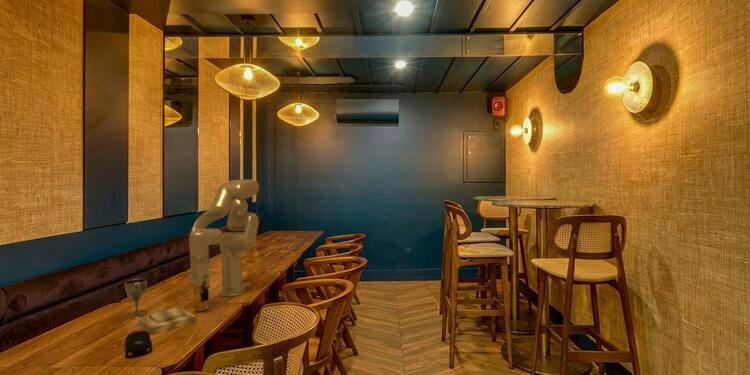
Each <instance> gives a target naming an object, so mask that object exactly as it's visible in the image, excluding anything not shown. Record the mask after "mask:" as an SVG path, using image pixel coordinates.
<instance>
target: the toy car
mask: <svg viewBox="0 0 750 375" xmlns="http://www.w3.org/2000/svg"><path fill="white" fill-rule="evenodd" d="M124 341H125V342H124V343H125V348H124V350H125V358H134V357H140V356H143V355H146V354H149V353H150V352H152V351H153V342H152V340H151V334H150V333H149V332H147V331H146V330H145V329H143V328H140V330H139V328H136V329H135V331H132V332H130V333H128V335H127V336H125V339H124Z"/></svg>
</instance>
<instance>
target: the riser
mask: <svg viewBox="0 0 750 375" xmlns="http://www.w3.org/2000/svg"><path fill="white" fill-rule="evenodd" d="M196 317H197V316H196V315H194V314H193V313H191V312H189V311H187V310H185V309H183V308H182V307H179V308H177V307H173V308H169V309H166V310H161V311H157V312H154V313H149V314H148V315H147V316H146V315H145V316H142V317H138V320H137V321H138V326H139V327H141V329H142V330H145V331H147V332H149V333H150V336H154V335H156V334H160V333H163V332H168V331H171V330H174V329H177V328H181V327H185V326H187V325H188V326H189V325H191V324H195V323H196V322H197V319H196Z"/></svg>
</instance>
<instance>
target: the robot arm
mask: <svg viewBox="0 0 750 375" xmlns="http://www.w3.org/2000/svg"><path fill="white" fill-rule="evenodd" d="M259 189H260V185H259V182H258V181H257V180H256V179H251V178H250V179H248V178H247V179H231V180H229V181H227V182H226V183H222V184H221V185H220V186H218V189H217V191H216V194H215V196H214V198H213V201H212V202H211V203H212V204H211V205H210V208H208V209H207V210H206V211H204V212H203V213H202V214H201V215H199V217H198V218H197V219H196V220H195V222H194V224H193V226H192V227H191V228H192V229H191V231H190V233H189V236H188V238H189V239H188V240H189V258H190V259H189V262H190V263H189V264H190V268H189V269H190V270H189V282H190V284H191V285H193V279H195V286H197V287H200V288H201V293H200V295H201V302H203V301H207V300H209V301H210V298H209V297H210V295H209V296H208V291H209V288H210V287H211V284H210V281H211V280H210V279H211V278H210V276H211V274H210V267H209V262H210V254H209V253H210V252H209V247H210V246H216V245H219V250H220V255H221V281H222V282H221V283H222V285H221V286H222V287H221V289H222V290H220V291H219V292H218V294H219V296H220V297H226V298H229V297H236V296H240V295H243V294H244V293H246V287H251V286H252V283H251V282H243V270H242V269H243V267H242V264H243V263H242V261H243V260H242V256H241V253H240V252H239V251H241V252H246V251H247V252H249V251H250V250H252V249H253V247H255V243H256V238H257V235H258V234H257V232H258V229H259V224H260V223H259V217H258V216H257V214H256V213H254V212H248V207H249V205H248V202H247V200H246V199H249V198H251V197H253V196H256V195H257V193H258V192H259ZM227 215H228V216H227ZM226 216H227V222H226V227H227V228H228V230H231V231H226V232H224V233H223V231H222V230H221V229H218V228H207V226H209V225H210V224H212V223H213V222H215V221H218V220H220V219H223V218H224V217H226ZM203 283H205V285H202V284H203ZM204 286H205V287H204ZM203 287H204V288H203ZM209 292H210V291H209Z"/></svg>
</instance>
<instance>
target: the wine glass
mask: <svg viewBox="0 0 750 375" xmlns="http://www.w3.org/2000/svg"><path fill="white" fill-rule="evenodd" d="M147 284H148V281H147V278H133V279H129V280H127V281H125V282H124V289H125V293H126V295H127V297H128V298H130V299H131V300H132V301H133V303H134V306H135V307H134V308H135V312H133V313H131V314H129V315H127V316H126V318H127V319H137V318H142V317H145V316H146V315H147V313H146V312H145V311H144V312H143V311H142V312H139V311H138V310H139V309H138V307H139V302H140V300H141V299H142V298H143V296H144V295H145V293H146V291H147Z"/></svg>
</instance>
